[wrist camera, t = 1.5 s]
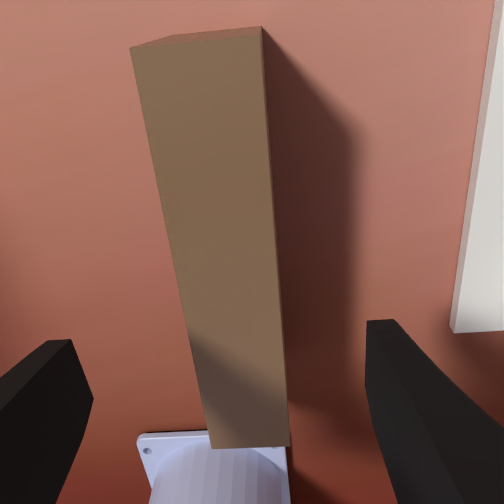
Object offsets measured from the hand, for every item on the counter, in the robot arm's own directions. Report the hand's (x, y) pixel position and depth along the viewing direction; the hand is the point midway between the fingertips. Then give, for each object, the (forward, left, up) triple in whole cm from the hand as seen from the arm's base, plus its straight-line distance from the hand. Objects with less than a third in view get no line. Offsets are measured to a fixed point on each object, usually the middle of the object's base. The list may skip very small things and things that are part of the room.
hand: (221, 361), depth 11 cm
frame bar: (0, 0, -8) cm, 8 cm away
